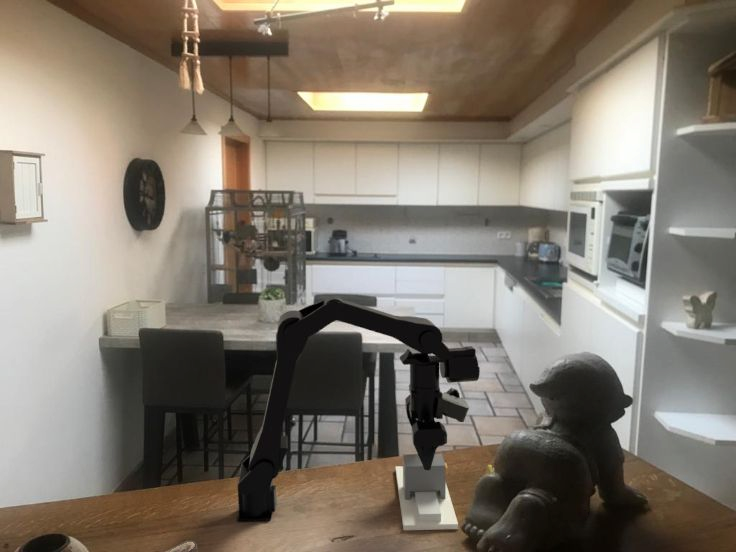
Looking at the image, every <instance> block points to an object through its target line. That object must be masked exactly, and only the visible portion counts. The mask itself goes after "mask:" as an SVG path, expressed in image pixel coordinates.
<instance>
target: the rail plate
mask: <svg viewBox="0 0 736 552" xmlns="http://www.w3.org/2000/svg"><path fill="white" fill-rule="evenodd" d="M395 477H396V483H397V491H398V492H397V493H398V497H399V499H398V500H399V505H400V506H399V508H400V513H401V514H400V515H401V520H402V528H403V531H428V530H431V531H432V530H435V531H436V530H459V522H458V518H457V516H456V515H457V514H456V513H455V509H454V506H453V502H452V499H451V495H450V492H449V488H448V486H447V484H446V494H445V499H440V495H439V492H438V491H410V500H405V496H404V489H403V465H402V466H399V465H398V466H395Z"/></svg>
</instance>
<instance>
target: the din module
mask: <svg viewBox="0 0 736 552" xmlns="http://www.w3.org/2000/svg"><path fill="white" fill-rule="evenodd" d="M402 466H403V489H404V496H405V500H410V491H438V492H439V495H440V499H445V494H446V485H447V481H446V479H447V476H448V474H449V473H448V468H449V467H448V465H447V462H445V460H444V456H443V453H435V455H434V458H433V462H432V465H431V469H430V470H424V467H423V465H422V462H421V460H420V458H419V455H418V453H414V454H413V453H412V454H402Z"/></svg>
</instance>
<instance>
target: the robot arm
mask: <svg viewBox="0 0 736 552" xmlns="http://www.w3.org/2000/svg"><path fill="white" fill-rule="evenodd" d="M336 321H338V322H341V323H344V324H348V325H351V326H355V327H358V328H361V329H365V330H367V331H371V332H374V333H377V334H381V335H384V336H387V337H391V338H393V339H395V340H397V341H399V342H400V343H402V344H403V345H405V346H407V347H409V348H411V349H413V350H414V351H417V352H413V351H411V350H410V349H409V348H407V349H406V350H405V352H404V353H402V355H400V356H399V360H400V362H401V363H402V364H403V366H405V365H407V366H409V384H408V391H409V395H407V396H406V398H405V400H404V401H405V402H404V404H405V412H406V415H407V419H408V423H409V424H410V427H411V441H412V444H413V446H414V448H415V451H416V454H418V455H419V458H420V460H421V462H422V465H423V467H424V470H430V469H431V465H432V462H433V458H434V455H435V454H436V452H437V449H438V448H439V447H442V446H444V445H446V444H448V433H447V430H446V427H445V425H444V424H443V423H441V421H436V420H435V419H437V420H443V419H444V418H443V416H444V417H447V418H450V419H454V420H456V422H460V423H464V422H465V420H466V417H467V415H468V412H469V409H470V406H469V404H468V402H467V401H466V400H465V399H464V398H463V397H461V396H460V392H459V390H458V389H457V388H453V387H451V388H450V389H448V390H447V391H446V392H445V391H444V392H442V391H441V387H440V375H441V378H442V379H445V380H446V382H447V383H448V384H451V383H453V384H454V383H466V382H467V383H468V382H469V383H470V382H477V381H478V380H479V378H480V373H481V372H480V371H481V370H480V366H479V362H478V357H477V354H476V352H477V351H476V349H475V348H474V347H473V346H472V345H471V346H470V345H469V346H463V347H453V348H452V347H451V348H449V347H448V346H447V345H446V344H445V343H444V342H443V334H442V331H441V330H440V329H439V328H438V326H436V325H435V324H434V323H433V322H432V321H431V320H429V319H428V318H425V317H420V316H419V317H418V316H410V315H408V316H407V315H405V316H404V315H403V316H401V315H395V314H390V313H388V312H385V311H382V310H378V309H375V308H371V307H368V306H365V305H362V304H358V303H356V302H353V301H348V300H346V299H342V298H341V297H339V296H337V295H330V296H327V297H326V298H325V299H322V300H320V301H318V302H315V303H312V304H310V305H307V306H305V307H303V308H301V309H299V310H288V311H286V312H284V313H283V314H281V315H280V316H279V319H278V321H277V335H276V337H277V338H276V360H275V364H274V365H275V366H274V369H273V374H272V378H271V379H272V380H271V384H270V389H269V394H268V399H267V403H266V409H265V412H264V417H263V422H262V425H261V427H260V429H259V431H258V433H257V435H256V437H255V439H254V442H253V444H252V447H251V450H250V454H249V455H248V456H247V457H246V458H245V459H244V460H243V461H242V462H241V463H240V464H241V465H240V471H239V474H238V475H239V476H238V481H237V499H238V504H237V505H238V513H237V516H236V521H237V522H257V521H258V522H259V521H261V522H263V521H267V522H268V521H271V520H272V517H273V515H274V514H273V513H275V512H276V509H277V504H278V502H277V486H276V485H275V484H274V479H276V478H277V476H278V475H279V473H280V469H281V470H282V471H283V470H284V469H285V467H284V464H285V462H284V460H285V457H286V456H287V451H288V435H282V431H283V425H284V421H285V417H286V412H287V411H286V410H287V407H288V403H289V402H288V401H289V397H290V392H291V388H292V383H293V379H294V374H295V369H296V366H297V363H298V361H299V359H300V357H301V356H302V354H303V352H304V348H305V347H306V345H307V342H308V339H309V338H310V337H311V336H314V335H315V334H317V333H319V332H320V331H321V330H323V329H325V328H326V327H328V326H329V325H330V324H332V323H333V322H336ZM431 354H432V355H431Z"/></svg>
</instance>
